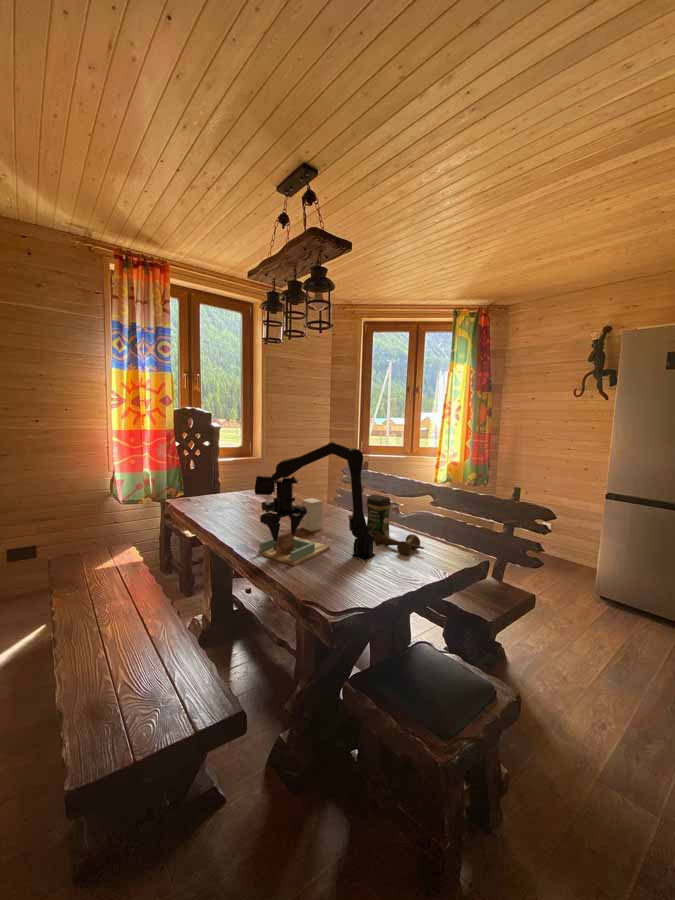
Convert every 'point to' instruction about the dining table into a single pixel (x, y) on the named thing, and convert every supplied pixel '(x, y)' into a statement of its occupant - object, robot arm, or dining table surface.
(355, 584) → the dining table surface
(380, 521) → the coffee jar
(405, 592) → the dining table surface
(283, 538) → the block
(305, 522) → the small box
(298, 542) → the housing
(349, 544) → the dining table surface
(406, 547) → the kendama
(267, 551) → the board
